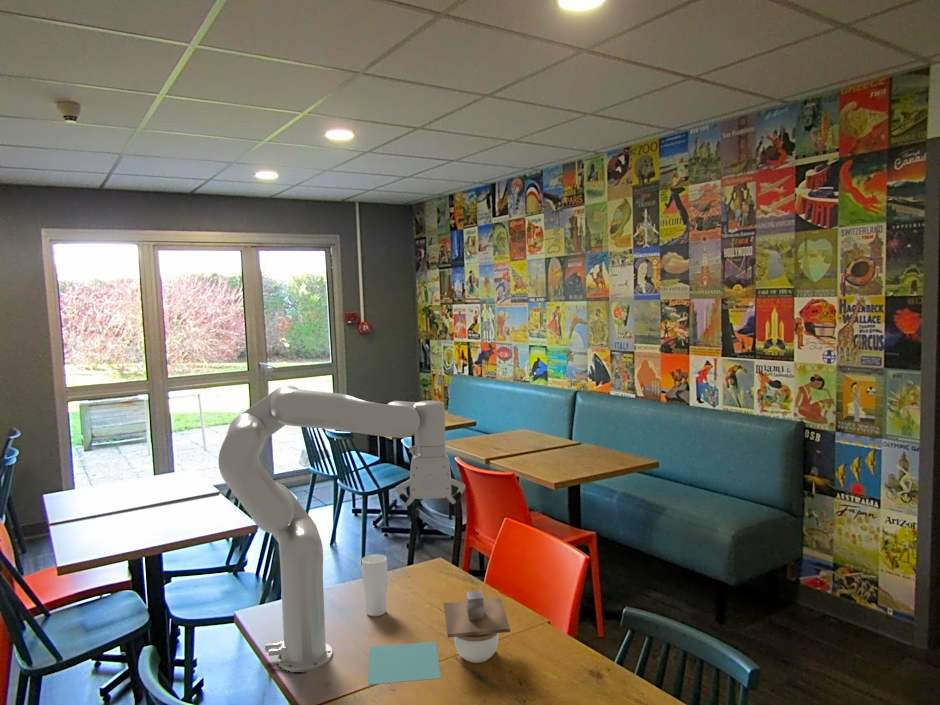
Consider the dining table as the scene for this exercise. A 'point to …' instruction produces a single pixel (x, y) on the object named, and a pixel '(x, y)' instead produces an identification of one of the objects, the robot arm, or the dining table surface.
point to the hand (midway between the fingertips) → (430, 519)
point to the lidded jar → (477, 647)
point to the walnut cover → (475, 616)
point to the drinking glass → (375, 583)
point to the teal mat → (403, 663)
